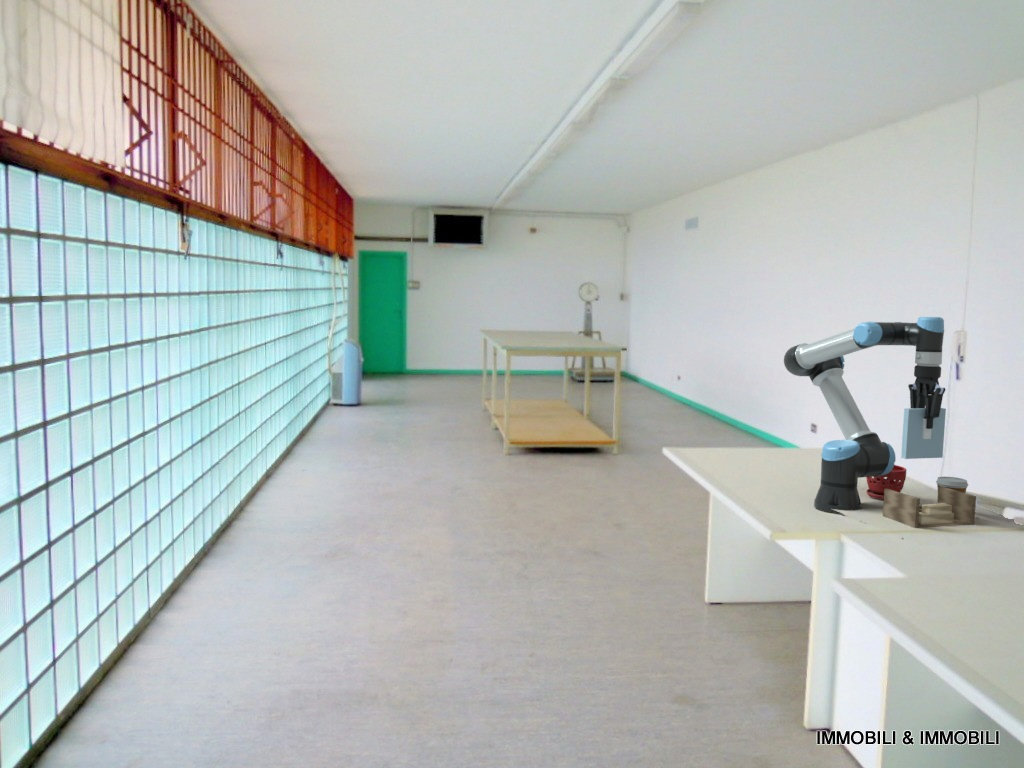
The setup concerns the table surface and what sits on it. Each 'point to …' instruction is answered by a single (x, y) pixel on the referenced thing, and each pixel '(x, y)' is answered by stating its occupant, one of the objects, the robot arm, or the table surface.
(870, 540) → the table surface
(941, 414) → the panel
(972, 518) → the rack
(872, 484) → the plant pot
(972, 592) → the table surface
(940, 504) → the offcut stack
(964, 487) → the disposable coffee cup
